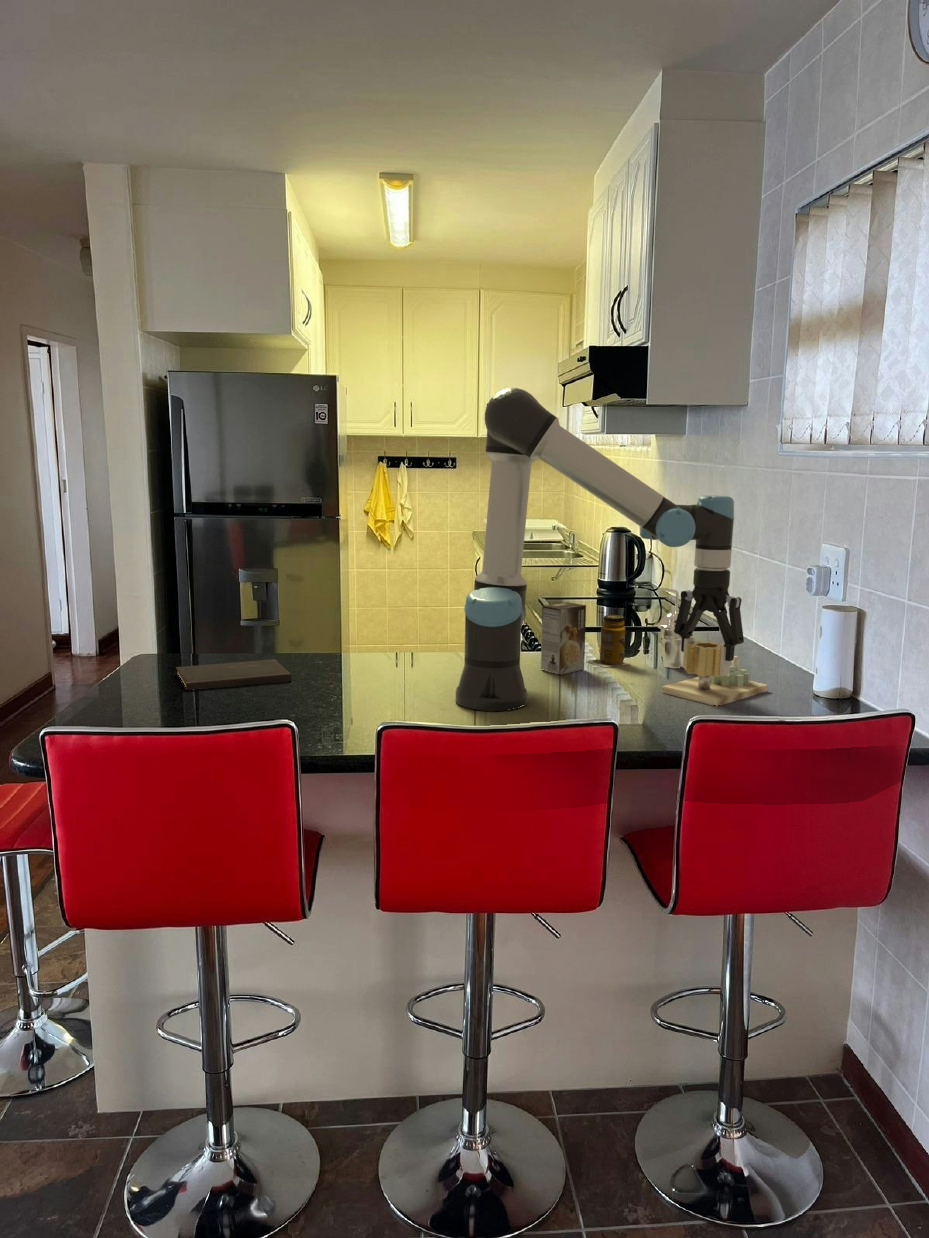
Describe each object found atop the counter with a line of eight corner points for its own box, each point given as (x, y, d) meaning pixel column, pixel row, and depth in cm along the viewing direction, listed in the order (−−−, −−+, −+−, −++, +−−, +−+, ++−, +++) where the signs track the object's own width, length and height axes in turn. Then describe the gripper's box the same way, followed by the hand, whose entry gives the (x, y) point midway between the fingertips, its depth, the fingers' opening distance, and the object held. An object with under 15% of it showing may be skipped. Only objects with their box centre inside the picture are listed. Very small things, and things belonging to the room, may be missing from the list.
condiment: (630, 664, 227) (633, 617, 224) (605, 668, 222) (608, 620, 220) (611, 658, 233) (613, 612, 230) (586, 662, 228) (588, 615, 226)
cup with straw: (688, 671, 220) (693, 590, 216) (651, 668, 222) (655, 588, 219) (691, 664, 228) (696, 585, 224) (655, 660, 230) (659, 583, 227)
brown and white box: (565, 665, 224) (567, 601, 221) (584, 669, 220) (587, 605, 217) (539, 670, 218) (541, 605, 215) (559, 675, 214) (561, 608, 211)
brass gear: (711, 678, 191) (713, 651, 190) (677, 671, 198) (678, 644, 196) (733, 672, 197) (735, 646, 196) (700, 665, 203) (701, 639, 202)
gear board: (716, 706, 189) (717, 699, 189) (662, 692, 200) (662, 686, 199) (767, 691, 202) (767, 684, 202) (713, 678, 213) (713, 672, 212)
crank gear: (734, 688, 198) (736, 664, 197) (701, 680, 205) (702, 657, 204) (756, 682, 204) (757, 659, 203) (722, 675, 210) (724, 652, 209)
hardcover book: (176, 676, 209) (176, 667, 208) (275, 668, 218) (275, 659, 218) (186, 693, 194) (185, 683, 194) (291, 683, 204) (291, 674, 203)
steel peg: (705, 690, 196) (707, 667, 195) (695, 688, 198) (697, 664, 197) (712, 688, 198) (714, 665, 197) (702, 686, 200) (704, 663, 199)
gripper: (766, 572, 188) (759, 677, 192) (680, 562, 203) (675, 659, 207) (747, 575, 183) (739, 683, 187) (660, 564, 198) (655, 664, 203)
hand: (705, 670), depth 197 cm, fingers closed on brass gear, 9 cm apart
